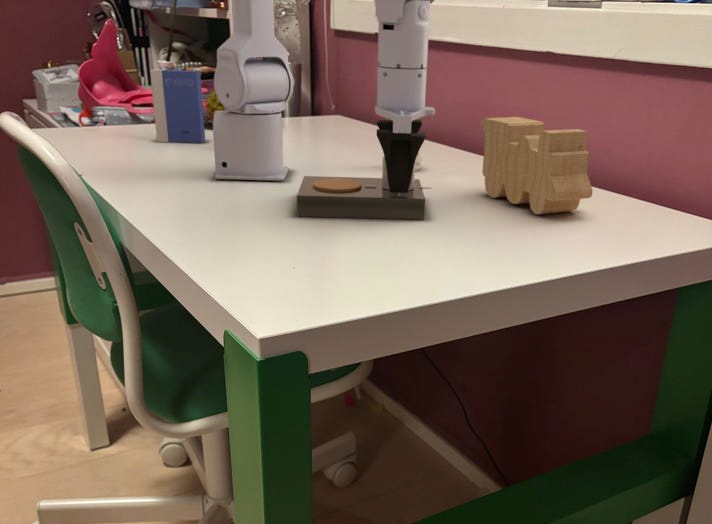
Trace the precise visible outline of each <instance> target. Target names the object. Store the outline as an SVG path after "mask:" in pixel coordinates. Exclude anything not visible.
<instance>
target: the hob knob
mask: <svg viewBox="0 0 712 524" xmlns="http://www.w3.org/2000/svg"><path fill="white" fill-rule="evenodd" d="M381 167H382V169H381V178H382V188H384V189H387V190H390V189H389V184H388V177H387V169H386V162H385V157H384V156H383V157H382V166H381ZM415 176H416V171H415V164H414V168H413V173H412V178H411V183H410V186H409V190H412V189H414V180H415V179H416V178H415Z"/></svg>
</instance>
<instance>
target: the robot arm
mask: <svg viewBox="0 0 712 524" xmlns="http://www.w3.org/2000/svg"><path fill="white" fill-rule="evenodd" d="M373 1H374V5H375V6H374V7H375V15H374V16H375V18H377V19H376V20H377V22H378V28H377V29H378V33H377V71H376V72H377V73H376V75H377V78H376V80H377V81H376V105H375V106H374V113H375V114H376V115H377V116H380V117H383V118H385V119H378V120H376V125H377V127H378V129H376V137H377V140H378V142H379V144H380V146H381V147H380V148H381V149H382V153H383V157H385V162H386V169H387V177H388V184H389V189H390V192H391V193H407V192H408V190H409V186H410V183H411V178H412V173H413V168H414V164H415V160H416V157H417V155H418V152H419V153H420V150H421V149H422V146H423V144H424V142H425V140H426V137H427V135H426V133H420V132H419V131H420V129H421V127H422V125H423V122H422V120H421V118H423V117H426V116H435V114H436V109H435V107H432V106H426V95H427V93H426V91H427V74H428V57H429V56H428V55H429V54H428V53H429V36H430V35H429V34H430V33H429V32H430V14H431V13H430V12H431V11H430V10H431V5H432V4H433V3H434V1H435V0H373ZM274 4H275V3H274V0H231V14H232V15H231V17H232V34H231V36H230V37H229V38H227V39H226V40H225V41H224V42H223V43H222V44H221V45H220V46H219V47H218V48H217V50H216V68H215V71H214V76H213V87H214V89H215V90H214V91H215V92H216V94H217V97H218V99H219V101H220V102H221V103H222V105H223V106H224V109H225V111H216V112H215V114H214V118H213V126H212V137H213V138H212V139H213V150H214V151H213V152H214V165H215V175H214V178H215V179H216V180H245V181H247V180H249V181H284V180H285V178H286V176H287V174H288V172H289V167H288V166H284V148H283V144H284V143H283V116H282V115H283V114H282V112H283V111H286V105H287V104H288V102H289V101H290V99H291V98H292V95H293V92H294V79H293V78H294V77H293V74H292V70H291V68H290V64H289V51H288V50H287V48H286V47H285V46H284V45H283V44H282V42H280V40H278V38H277V37H276V36H275V9H274V7H275V5H274ZM251 58H261V59H251Z"/></svg>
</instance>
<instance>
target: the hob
mask: <svg viewBox="0 0 712 524" xmlns="http://www.w3.org/2000/svg"><path fill="white" fill-rule="evenodd" d="M322 179H349V180H354V181H358V182H360V183H361V184H362V187H361V188H360V189H358V190H353V191H343V192H335V191H324V190H319V189H316V188H314V187H313V182H315V181H317V180H322ZM431 189H432V187H431V186H422V183H421V180H420V178H415V180H414V189H412V190H408V192H407V193H391V192H390V190H387V189H384V188H382V177H358V176H357V177H356V176H355V177H354V176H352V177H351V176H321V175H320V176H319V175H318V176H316V175H304V176H303V178H302V181H301V184H300V186H299V188H298V191H297V194H296V216H297V217H299V218H301V217H302V218H303V217H305V218H338V219H339V218H340V219H341V218H342V219H344V218H345V219H346V218H347V219H381V220H384V219H385V220H416V221H417V220H419V221H420V220H423V221H424V220H425V213H426V197H425V194H424V190H431Z"/></svg>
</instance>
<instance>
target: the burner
mask: <svg viewBox="0 0 712 524" xmlns="http://www.w3.org/2000/svg"><path fill="white" fill-rule="evenodd" d="M313 187H314V188H316V189H319V190H324V191H335V192H343V191H353V190H358V189H360V188H361V187H362V184H361V183H360V182H358V181H354V180H349V179H322V180H317V181H315V182H313Z"/></svg>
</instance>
